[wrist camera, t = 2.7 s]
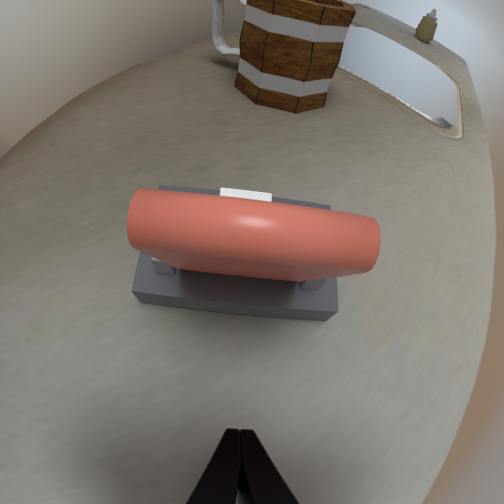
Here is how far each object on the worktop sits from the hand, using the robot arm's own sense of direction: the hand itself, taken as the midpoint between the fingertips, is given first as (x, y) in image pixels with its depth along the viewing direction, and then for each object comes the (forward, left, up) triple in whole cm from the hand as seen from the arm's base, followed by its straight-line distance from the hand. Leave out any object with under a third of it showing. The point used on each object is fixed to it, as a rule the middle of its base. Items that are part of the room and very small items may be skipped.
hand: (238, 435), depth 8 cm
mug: (+37, +16, -11) cm, 42 cm away
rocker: (+9, +4, -9) cm, 13 cm away
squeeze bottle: (+137, -9, -11) cm, 138 cm away
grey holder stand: (+11, +5, -11) cm, 16 cm away
